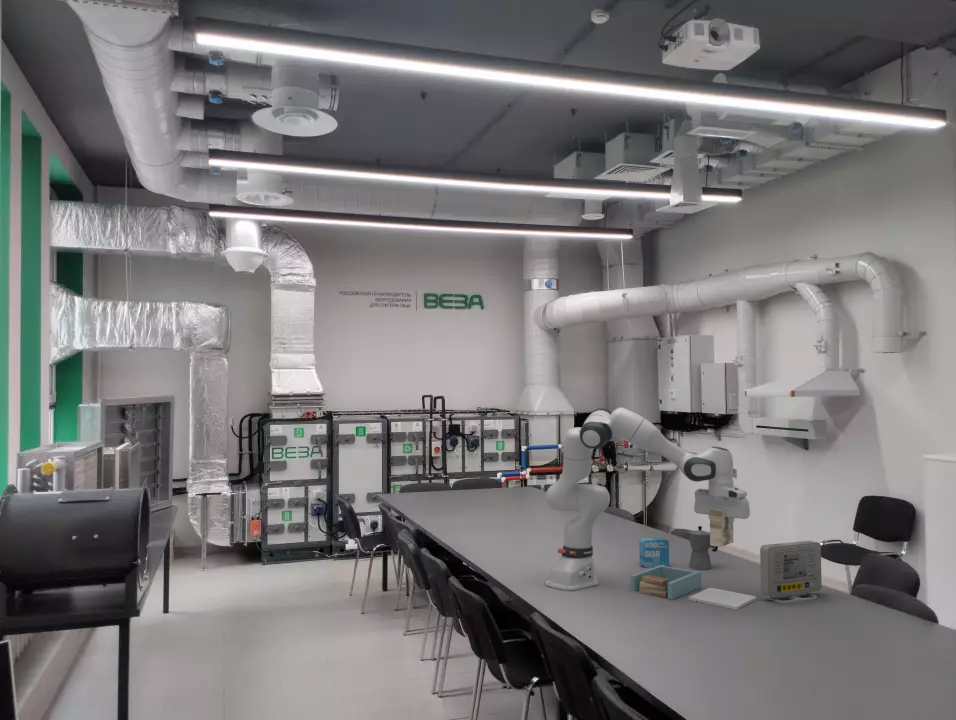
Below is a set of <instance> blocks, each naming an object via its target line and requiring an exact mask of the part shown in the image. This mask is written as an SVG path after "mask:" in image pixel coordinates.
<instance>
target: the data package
mask: <svg viewBox="0 0 956 720" xmlns="http://www.w3.org/2000/svg"><path fill="white" fill-rule="evenodd" d="M638 546H639V549H638V550H639V565H641V566H642V567H643V568H645V569H649V568H648V567H657V566H659V565H665V566H667V567H669V566H670V542H669V540H667V539H666V538H665V537H643V538H640V539H639V545H638Z"/></svg>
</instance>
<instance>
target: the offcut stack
mask: <svg viewBox="0 0 956 720" xmlns="http://www.w3.org/2000/svg"><path fill="white" fill-rule="evenodd" d="M668 583H669V579H666V578H661V577H657V576H652V575H646V576H643V577H642V581H641V582H640V587H639V591H638V592H639V593H640V592H644V593H643V594H645V593H649V594H653V595H652V596H654V595H657V596H656V597H659V596H662V597H661V598H663V597H667V598H668ZM649 594H648V595H649Z"/></svg>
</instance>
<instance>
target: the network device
mask: <svg viewBox="0 0 956 720" xmlns="http://www.w3.org/2000/svg"><path fill="white" fill-rule="evenodd" d="M759 549H760V551H759V552H760V553H759V554H760V557H759V558H760V566H759V567H760V592H761V594H762V595H764V596H766V597H767V600H770V601H772V602H775V603H779V604H790V603H797V602H804V601H806V602H807V601H813V600H817V599H818V596H817V595H816V594H813V593H816V592H820V591H821V590H822V583H823V582H822V546H821V543H820V542H817V541H813V540H803V541H791V542H781V543H771V544H763V545H761V546H760V548H759ZM801 594H802V595H806V596H808V597H800V596H798V595H801ZM777 597H783V598H784V597H785V598H787V600H781V599H779V598H778V599H777Z"/></svg>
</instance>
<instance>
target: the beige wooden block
mask: <svg viewBox="0 0 956 720" xmlns="http://www.w3.org/2000/svg"><path fill="white" fill-rule="evenodd" d="M729 521H730V520H728V517H725V515H724V510H723V509H710V519H709V532H710V546H712V547H715V546H717V547H718V548H721V547H725V546H727V545H729V544H730V545H731V544H734V522H733V523H732V524H731V527H732V528H731V530H728V529H726V524H728V523H729Z"/></svg>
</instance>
